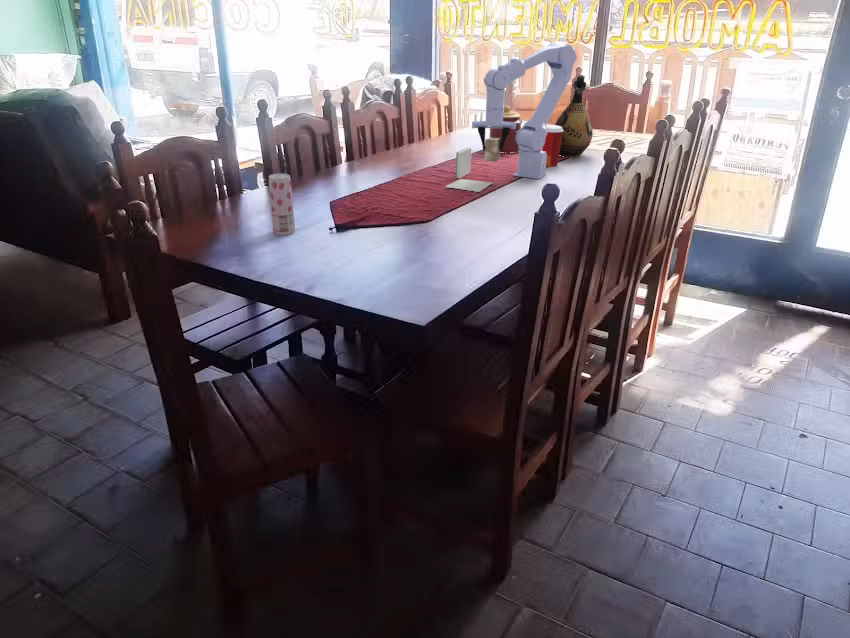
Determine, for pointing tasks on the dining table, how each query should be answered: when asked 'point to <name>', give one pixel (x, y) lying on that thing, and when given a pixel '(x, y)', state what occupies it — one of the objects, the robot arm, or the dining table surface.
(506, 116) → the canister
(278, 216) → the beverage can
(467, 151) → the tile
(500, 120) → the robot arm
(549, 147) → the paper cup
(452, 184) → the mat
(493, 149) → the pusher block
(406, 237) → the dining table surface
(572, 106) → the ceramic jug
